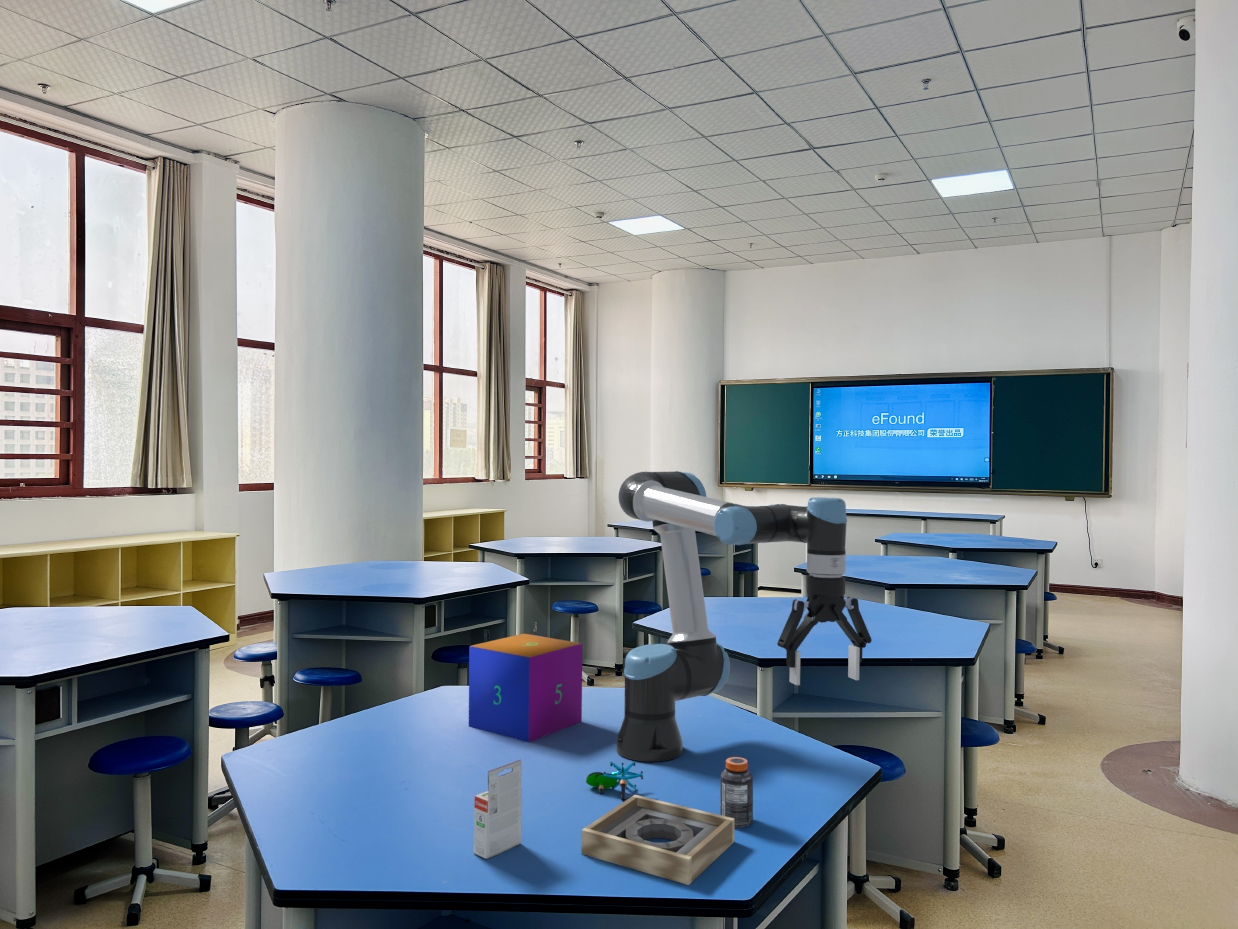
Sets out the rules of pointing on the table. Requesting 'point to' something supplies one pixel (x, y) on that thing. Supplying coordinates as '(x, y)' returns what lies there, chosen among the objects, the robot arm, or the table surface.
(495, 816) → the ink box
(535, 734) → the cube
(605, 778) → the stick construction toy
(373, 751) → the table surface
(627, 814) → the bore box
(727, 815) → the pill bottle
